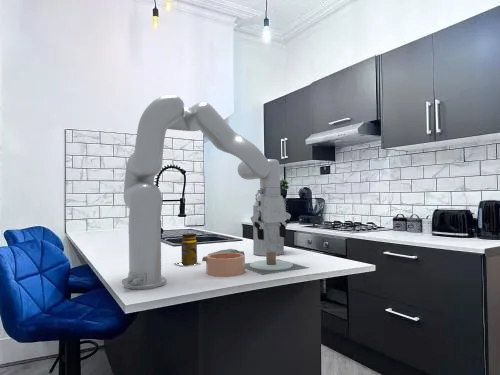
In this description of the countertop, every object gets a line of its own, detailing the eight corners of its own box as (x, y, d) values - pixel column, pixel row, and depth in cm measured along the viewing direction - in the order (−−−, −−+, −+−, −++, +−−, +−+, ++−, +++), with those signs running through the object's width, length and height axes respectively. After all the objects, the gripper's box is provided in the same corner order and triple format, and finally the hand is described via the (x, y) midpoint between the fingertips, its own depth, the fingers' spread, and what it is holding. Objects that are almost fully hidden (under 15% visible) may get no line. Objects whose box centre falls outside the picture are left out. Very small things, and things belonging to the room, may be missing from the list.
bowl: (238, 278, 115) (238, 259, 115) (201, 276, 118) (201, 258, 118) (248, 269, 127) (248, 253, 127) (214, 268, 130) (213, 252, 130)
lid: (290, 271, 121) (290, 256, 122) (245, 270, 125) (245, 255, 125) (294, 262, 137) (294, 249, 137) (254, 261, 141) (254, 248, 141)
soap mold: (245, 255, 160) (244, 248, 160) (222, 264, 142) (222, 255, 142) (225, 254, 164) (225, 246, 164) (200, 262, 146) (200, 253, 146)
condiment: (200, 264, 139) (200, 233, 139) (180, 267, 134) (180, 235, 135) (193, 261, 145) (192, 232, 145) (173, 264, 140) (173, 234, 141)
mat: (262, 275, 117) (262, 274, 117) (235, 265, 135) (235, 264, 135) (309, 268, 127) (309, 267, 127) (278, 260, 145) (278, 259, 145)
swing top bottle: (246, 255, 156) (244, 166, 157) (267, 250, 170) (266, 168, 171) (270, 258, 149) (268, 164, 150) (290, 252, 163) (288, 167, 164)
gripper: (255, 193, 124) (257, 241, 124) (295, 191, 133) (296, 237, 133) (245, 193, 131) (246, 239, 130) (283, 191, 139) (285, 235, 139)
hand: (272, 238), depth 131 cm, fingers open, 9 cm apart
